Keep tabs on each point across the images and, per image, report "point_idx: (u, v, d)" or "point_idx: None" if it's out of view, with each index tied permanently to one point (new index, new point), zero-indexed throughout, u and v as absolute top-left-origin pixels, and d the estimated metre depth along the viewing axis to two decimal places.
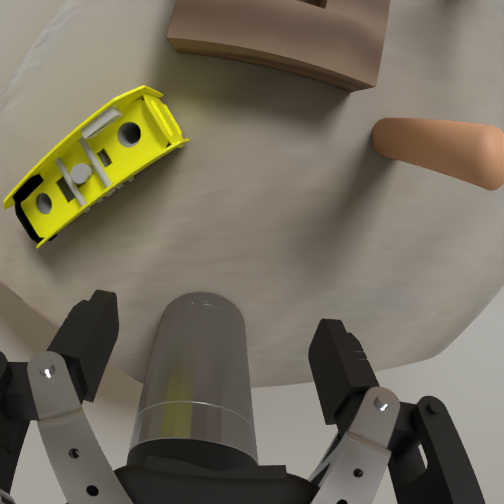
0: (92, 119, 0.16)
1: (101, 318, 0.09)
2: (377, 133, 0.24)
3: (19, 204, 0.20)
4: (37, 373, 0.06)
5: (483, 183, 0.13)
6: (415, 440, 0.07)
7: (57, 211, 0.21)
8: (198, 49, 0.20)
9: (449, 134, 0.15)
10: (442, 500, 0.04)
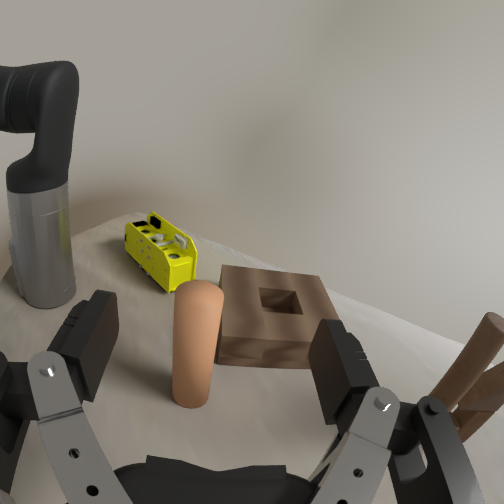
0: (182, 235, 0.47)
1: (101, 318, 0.09)
2: None
3: (146, 224, 0.54)
4: (37, 373, 0.06)
5: (178, 288, 0.24)
6: (415, 440, 0.07)
7: None
8: (219, 287, 0.46)
9: None
10: (442, 500, 0.04)
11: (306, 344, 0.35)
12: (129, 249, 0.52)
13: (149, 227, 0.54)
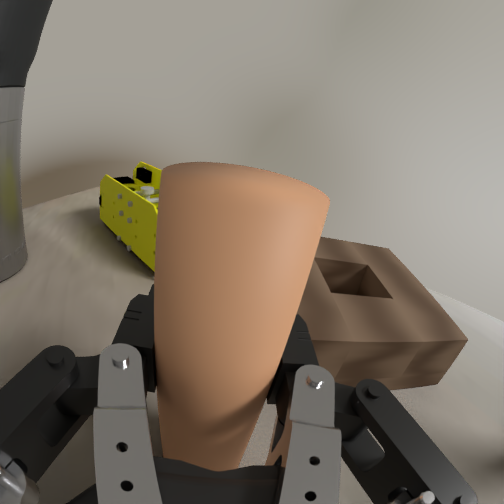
0: None
1: None
2: None
3: (131, 183, 0.36)
4: (112, 365, 0.07)
5: (175, 167, 0.07)
6: (362, 426, 0.08)
7: None
8: None
9: None
10: (413, 483, 0.05)
11: (413, 346, 0.17)
12: (105, 216, 0.34)
13: (135, 185, 0.36)
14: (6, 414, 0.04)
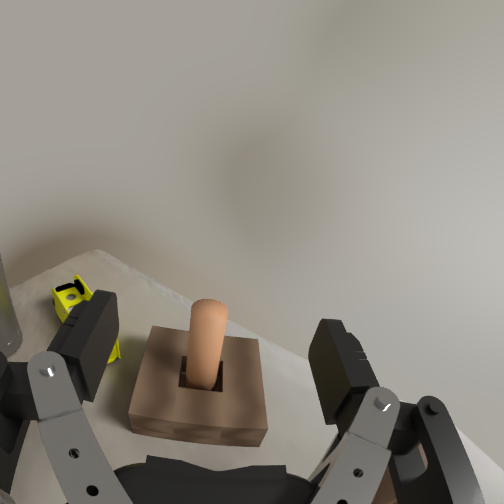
0: None
1: (101, 318, 0.09)
2: None
3: (73, 286, 0.46)
4: (37, 373, 0.06)
5: (194, 305, 0.32)
6: (415, 440, 0.07)
7: (65, 301, 0.42)
8: None
9: None
10: (442, 500, 0.04)
11: (216, 428, 0.30)
12: (58, 314, 0.43)
13: (76, 290, 0.45)
14: None
